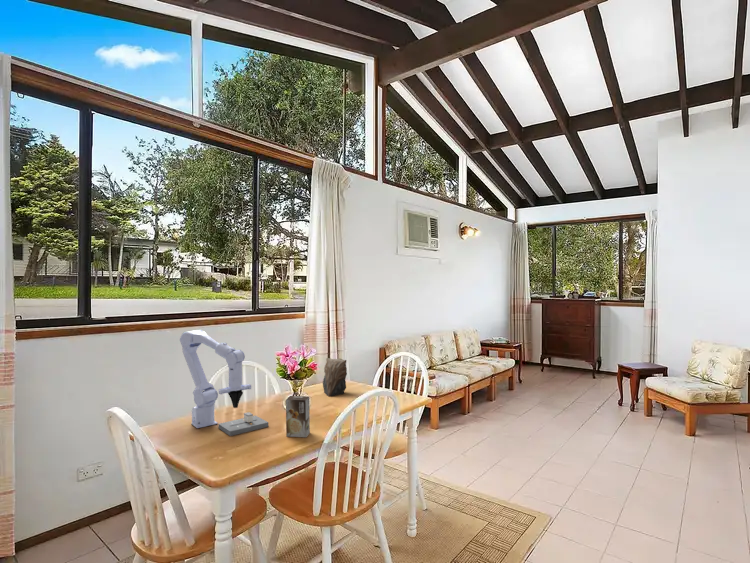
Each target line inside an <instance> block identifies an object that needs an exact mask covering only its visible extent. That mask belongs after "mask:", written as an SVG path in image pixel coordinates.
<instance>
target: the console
mask: <svg viewBox="0 0 750 563" xmlns="http://www.w3.org/2000/svg"><path fill="white" fill-rule="evenodd" d="M217 425H218V426H217V429H219V430H221V431H222V432H223V433H225V434H226V435H228V436H229V437H232V436H237V435H241V434H245V433H249V432H252V431H257V430H261V429H264V428H268V427H269V421H267V420H265V419H263V418H261V417H259V416H258V415H256V414H255V415H253V421H252V422H246V421H244V417H242V418H239V419H234V420H230V421H225V422H224V421H223V422H219V423H218V424H217Z"/></svg>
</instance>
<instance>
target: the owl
mask: <svg viewBox="0 0 750 563" xmlns="http://www.w3.org/2000/svg"><path fill="white" fill-rule="evenodd" d="M325 360H326V362H325V365H324V368H323V370H324V372H323V373H324V376H323V379H322V387H323V394H325V395H326V396H327V397H334V396H335V397H336V396H339V395H340V396H341V395H344V394H346V393H345V391H346V389H347V381H346V378H347V375H348V371H347V368H348V367H347V360H346V359H342V358H331V357H330V358H329V357H328V358H325Z"/></svg>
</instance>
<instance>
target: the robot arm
mask: <svg viewBox="0 0 750 563" xmlns="http://www.w3.org/2000/svg"><path fill="white" fill-rule="evenodd" d="M179 342H180V345H181V347H182V353H183V354H182V355H183V357H184V359H185V362H186V365H187V367H188V370H189V373H190V375H191V378H192V380H193V383H194V386H195V388H194V390H193V392H192V394H193V401H194V404H195V405H196V406H193V407H192V408H191V409H192V410H191V425H192V426H194V427H195V428H196V429H199V428H205V427H208V426H213V425H218V424H219V423H218V421H216V420H215V404H216V401H217V400H218V397H219V395H223V394H228V396H229V398H230V400H231V403H232V404H231V405H232V408H234V409H238V407H239V403H240V400H241V398H242V396H243V393H244V391H247V390H252V384H249V383H248V384H243V361H244V360H245V359H246V358H245V357H246V355H245V352H244V351H243V350H242V349H236V348H235V347H232V346H230V345H228V343H227V342H219V341H217V340H215V339H214V338H213V337H212V336H210V335H208V334H207V332H206V331H204V330H202V329H200V328H199V329H195V330H190V331H189V330H188V331H184V332H183V333H181V336H180V337H179ZM202 344H203V345H205V346H207V347H209V348H210V349H213V350H214V352H215V354H216V355H218V356H220V357H221V358H222V359H225V361H226V364H227V367H228V386H226V387H224V388H219V389H218V390H217V389H216V388H215V387H214V385H213V384H212V383H210V382H208V379H207V377H206V374H205V371H204V369H203V366H202V364H201V361H200V359H199V355H198V353H197V350H198V348H199V347H200V346H201V345H202Z"/></svg>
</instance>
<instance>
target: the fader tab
mask: <svg viewBox="0 0 750 563" xmlns="http://www.w3.org/2000/svg"><path fill="white" fill-rule="evenodd" d="M253 416H254V414H253V413H251V412H250V411H248V412H247V411H246V412H244V413H243V418H244V421H246V422H252V421H253Z"/></svg>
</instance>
